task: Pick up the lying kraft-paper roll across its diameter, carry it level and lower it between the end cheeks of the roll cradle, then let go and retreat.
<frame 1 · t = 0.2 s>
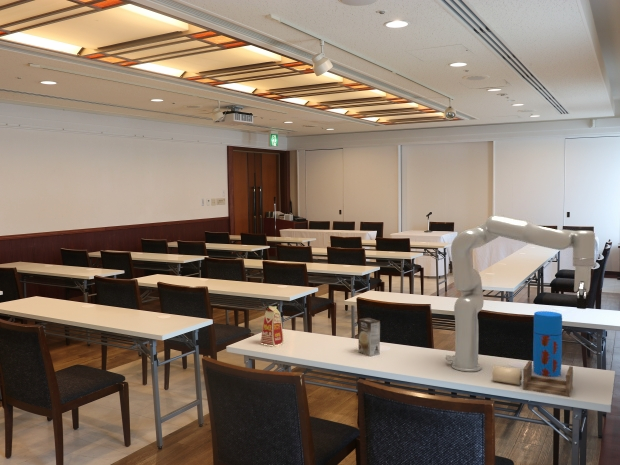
hand: (582, 306, 214), 31 cm above the table, fingers open, 9 cm apart
thermos: (546, 373, 230), on the table
coffee box: (369, 353, 262), on the table
kraft roll: (506, 382, 219), on the table
cradle: (547, 388, 212), on the table
milk carton: (272, 344, 280), on the table
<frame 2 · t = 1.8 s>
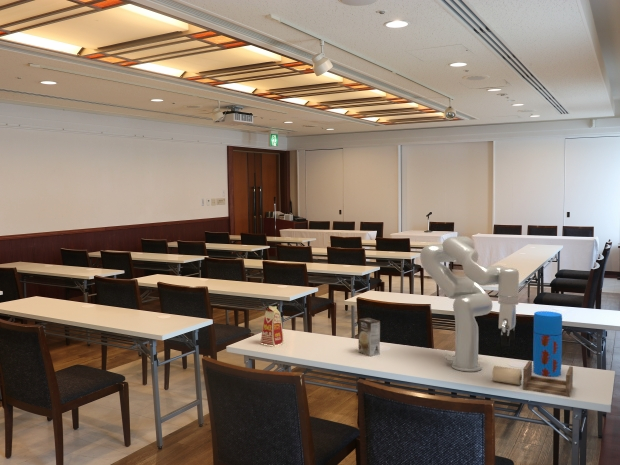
hand: (507, 342, 218), 16 cm above the table, fingers open, 9 cm apart
nothing on the table moved.
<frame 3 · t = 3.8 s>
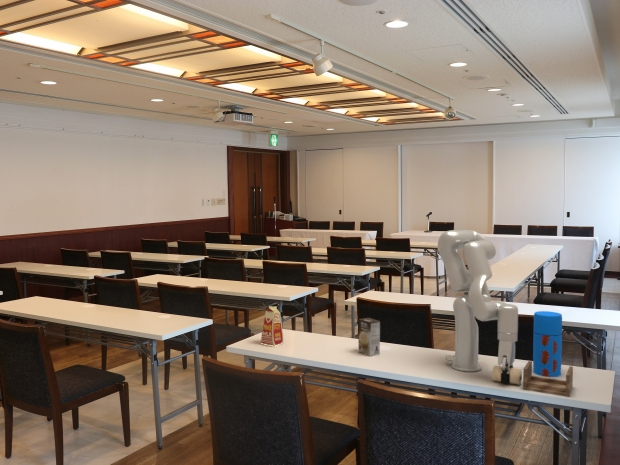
hand: (507, 380, 219), 1 cm above the table, fingers closed on kraft roll, 6 cm apart
kraft roll: (506, 382, 219), on the table, touching gripper
everything else where it was.
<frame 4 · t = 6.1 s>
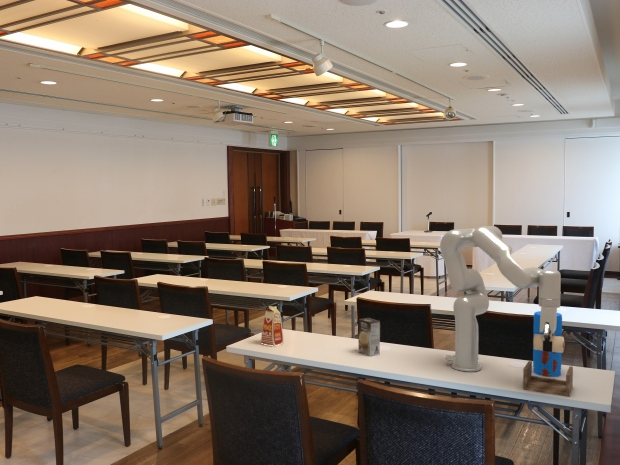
hand: (548, 348, 211), 15 cm above the table, fingers closed on kraft roll, 6 cm apart
kraft roll: (548, 350, 211), point 14 cm above the table, touching gripper
everything else where it was.
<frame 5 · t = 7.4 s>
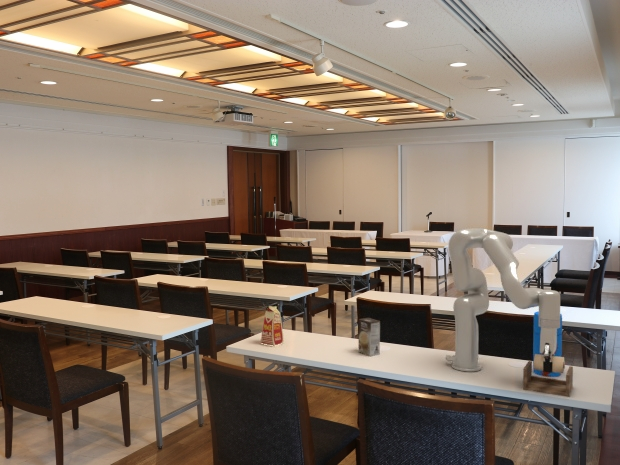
hand: (549, 369, 211), 7 cm above the table, fingers closed on kraft roll, 6 cm apart
kraft roll: (549, 371, 211), point 7 cm above the table, touching gripper
everything else where it was.
when the fingers open (3 cm above the table, at t = 8.6 s): kraft roll drops 2 cm, resting on cradle.
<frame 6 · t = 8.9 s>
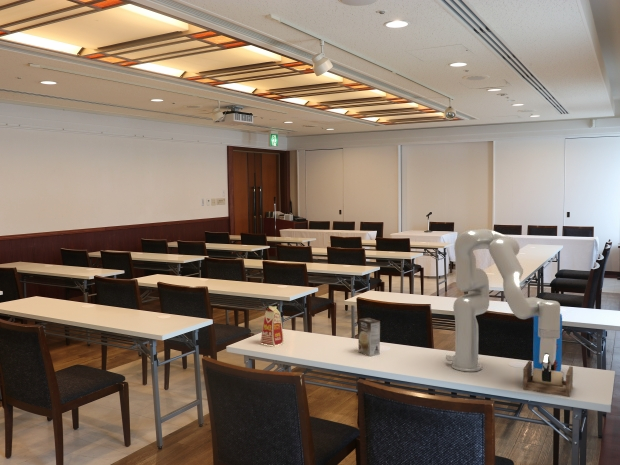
hand: (548, 377, 211), 4 cm above the table, fingers open, 8 cm apart
kraft roll: (547, 385, 212), point 1 cm above the table, touching cradle
everything else where it was.
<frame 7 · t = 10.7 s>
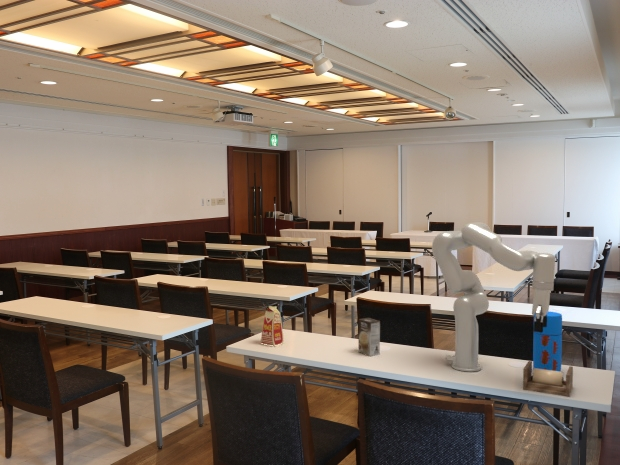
hand: (540, 329, 213), 22 cm above the table, fingers open, 9 cm apart
nothing on the table moved.
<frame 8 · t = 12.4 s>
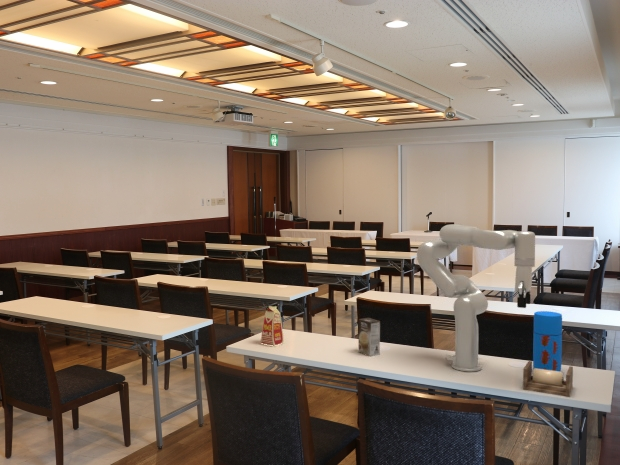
hand: (523, 305, 219), 30 cm above the table, fingers open, 9 cm apart
nothing on the table moved.
at the end: kraft roll 0.1 cm off-centre on the cradle, point 1.0 cm above the cradle's base; the gripper is holding nothing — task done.
